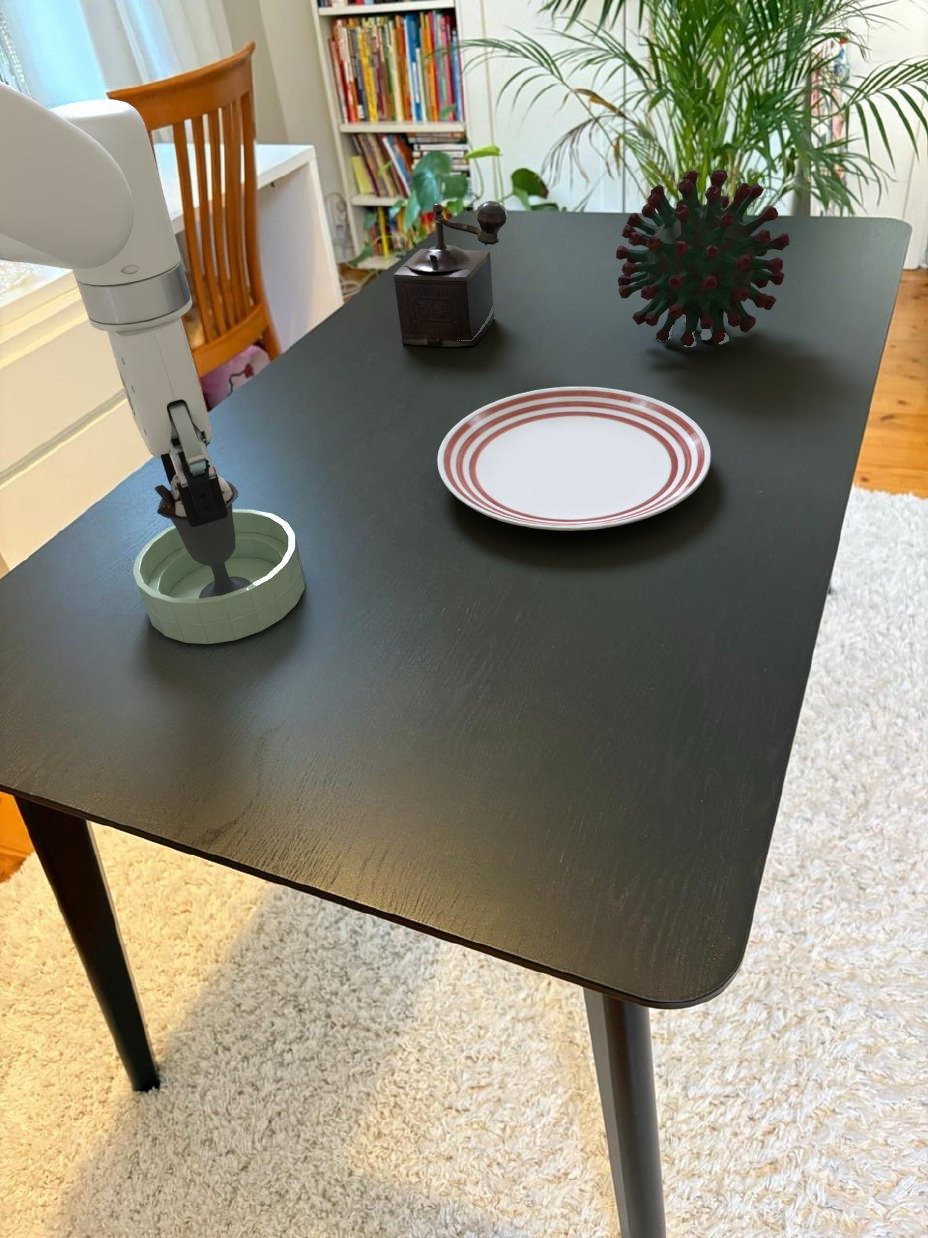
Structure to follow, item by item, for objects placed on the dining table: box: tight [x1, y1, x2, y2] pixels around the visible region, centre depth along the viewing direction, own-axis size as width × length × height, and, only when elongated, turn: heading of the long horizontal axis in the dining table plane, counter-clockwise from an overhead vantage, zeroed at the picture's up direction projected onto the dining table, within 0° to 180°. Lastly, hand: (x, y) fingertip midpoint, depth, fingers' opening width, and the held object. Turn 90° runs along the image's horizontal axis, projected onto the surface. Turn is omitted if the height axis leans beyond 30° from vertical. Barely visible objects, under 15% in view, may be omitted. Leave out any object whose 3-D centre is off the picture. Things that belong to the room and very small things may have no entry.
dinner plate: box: [437, 386, 712, 532], centre depth 99 cm, size 27×27×3 cm
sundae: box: [154, 440, 252, 599], centre depth 84 cm, size 7×7×15 cm
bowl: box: [132, 508, 306, 645], centre depth 87 cm, size 14×14×5 cm
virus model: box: [615, 169, 790, 346], centre depth 117 cm, size 20×20×20 cm
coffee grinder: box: [393, 200, 508, 348], centre depth 126 cm, size 16×11×18 cm
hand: (197, 498), depth 82 cm, fingers closed on sundae, 6 cm apart
